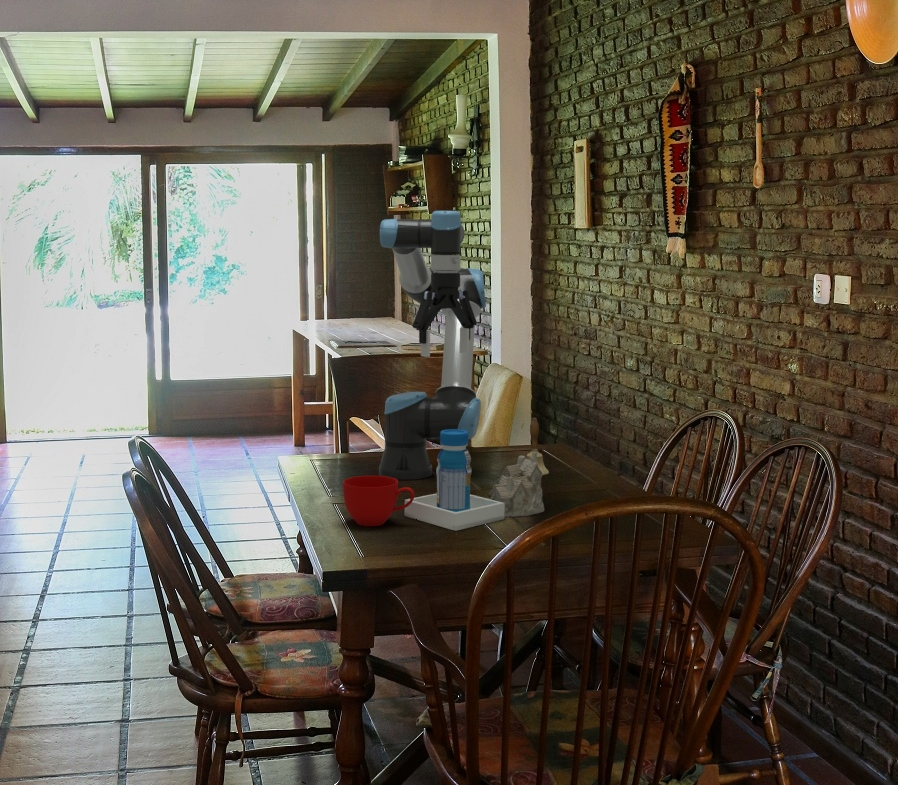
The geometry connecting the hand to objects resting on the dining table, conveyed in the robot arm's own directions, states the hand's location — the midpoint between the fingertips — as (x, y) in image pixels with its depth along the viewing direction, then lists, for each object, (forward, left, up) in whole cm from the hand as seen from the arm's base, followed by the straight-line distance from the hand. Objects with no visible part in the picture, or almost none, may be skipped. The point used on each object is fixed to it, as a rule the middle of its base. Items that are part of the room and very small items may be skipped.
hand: (445, 354), depth 285 cm
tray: (+20, -15, -37) cm, 44 cm away
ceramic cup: (+12, -32, -37) cm, 50 cm away
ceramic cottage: (+22, +2, -37) cm, 43 cm away
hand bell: (-3, +38, -37) cm, 53 cm away
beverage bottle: (+20, -15, -36) cm, 44 cm away
